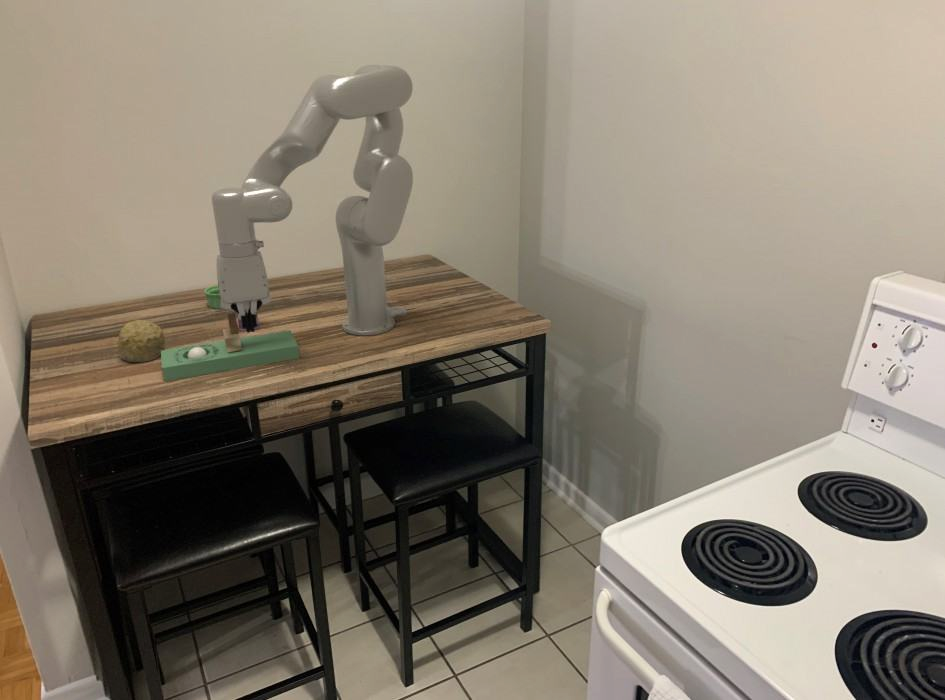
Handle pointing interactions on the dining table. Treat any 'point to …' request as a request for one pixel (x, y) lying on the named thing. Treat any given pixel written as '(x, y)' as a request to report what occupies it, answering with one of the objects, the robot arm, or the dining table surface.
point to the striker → (232, 335)
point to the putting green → (229, 355)
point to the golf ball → (196, 353)
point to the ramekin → (213, 296)
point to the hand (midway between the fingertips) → (250, 330)
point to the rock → (140, 341)
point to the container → (246, 307)
